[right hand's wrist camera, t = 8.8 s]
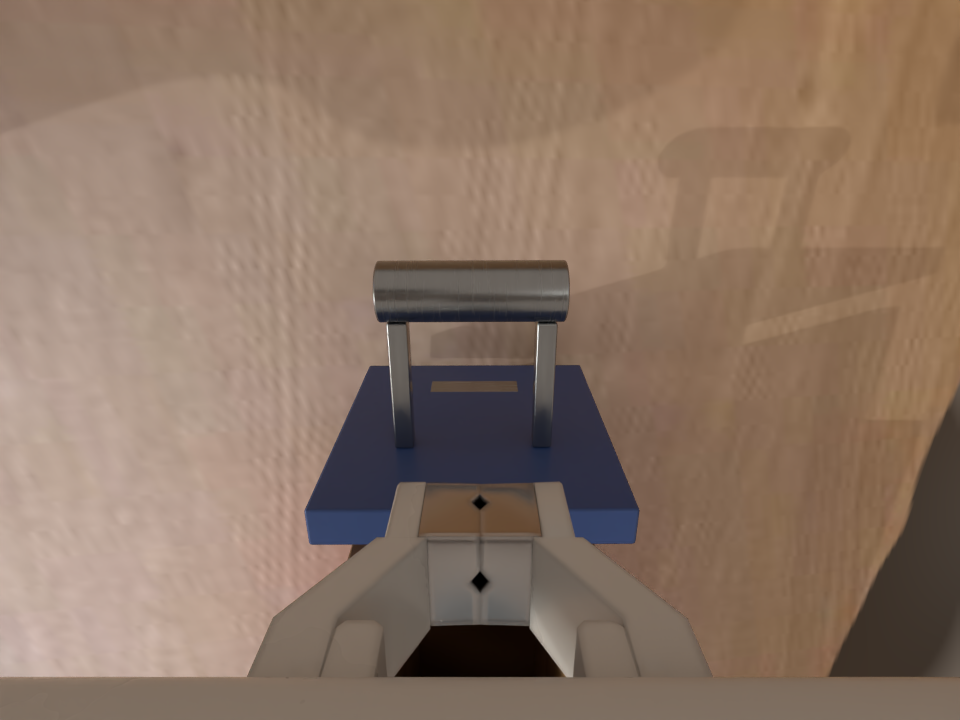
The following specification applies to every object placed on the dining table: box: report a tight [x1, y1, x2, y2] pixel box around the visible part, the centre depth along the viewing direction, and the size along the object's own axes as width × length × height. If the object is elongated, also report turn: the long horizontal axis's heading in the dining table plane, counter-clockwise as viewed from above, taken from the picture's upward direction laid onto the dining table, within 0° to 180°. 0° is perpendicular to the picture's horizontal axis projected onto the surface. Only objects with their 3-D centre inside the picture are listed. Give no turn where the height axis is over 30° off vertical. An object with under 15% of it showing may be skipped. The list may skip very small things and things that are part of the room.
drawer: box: [304, 260, 639, 677], centre depth 22 cm, size 26×9×10 cm, turn 0°
